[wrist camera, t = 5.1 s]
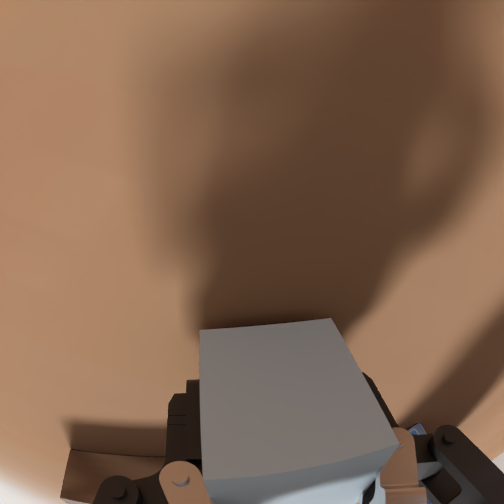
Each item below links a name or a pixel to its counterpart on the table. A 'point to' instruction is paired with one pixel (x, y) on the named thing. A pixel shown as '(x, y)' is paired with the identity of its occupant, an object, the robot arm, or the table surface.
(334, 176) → the table surface
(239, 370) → the pale blue block
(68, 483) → the walnut plinth
